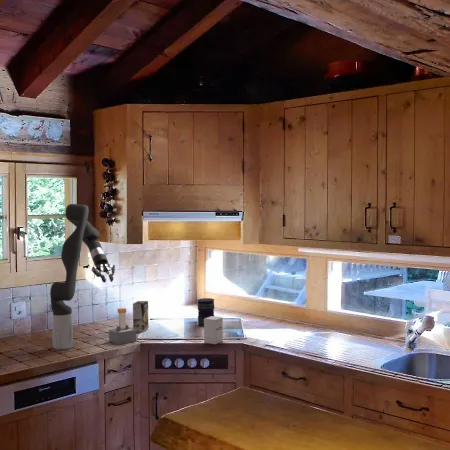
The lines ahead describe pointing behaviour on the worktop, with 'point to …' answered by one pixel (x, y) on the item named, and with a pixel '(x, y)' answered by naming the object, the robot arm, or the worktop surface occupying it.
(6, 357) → the worktop surface
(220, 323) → the supplement box
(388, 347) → the worktop surface
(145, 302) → the coffee box
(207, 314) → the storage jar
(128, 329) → the block
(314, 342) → the worktop surface
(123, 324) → the lever
